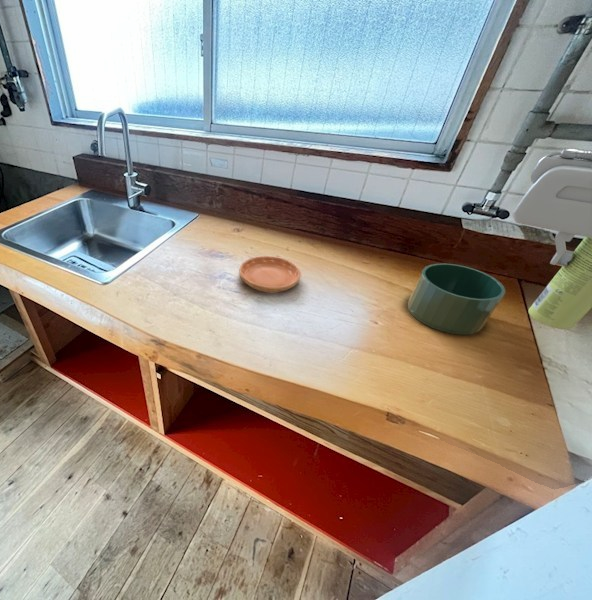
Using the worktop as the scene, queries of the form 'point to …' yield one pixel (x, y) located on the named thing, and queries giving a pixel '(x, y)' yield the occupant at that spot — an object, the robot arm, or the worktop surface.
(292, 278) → the saucer
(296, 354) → the worktop surface
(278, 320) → the worktop surface
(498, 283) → the vessel
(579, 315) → the tube
